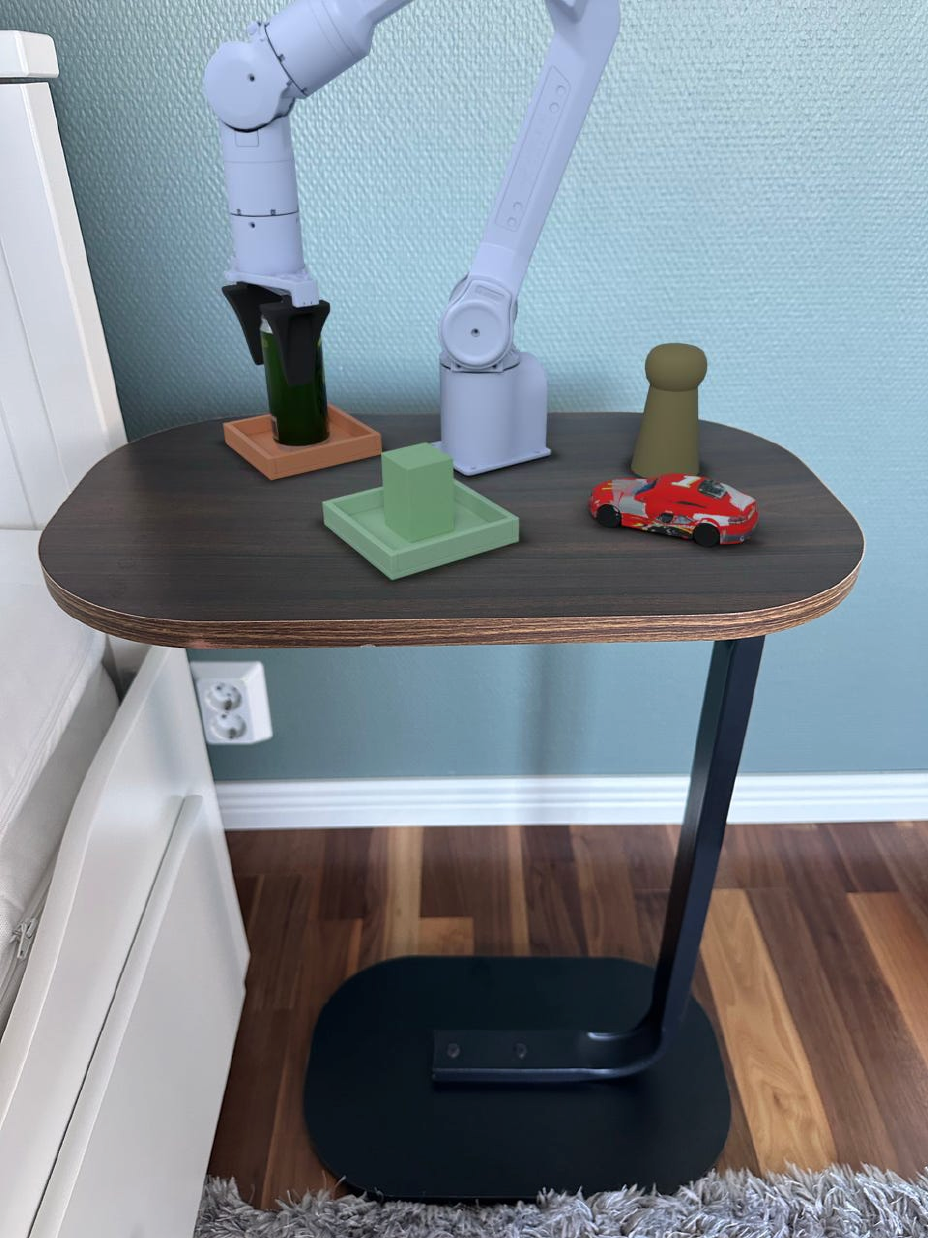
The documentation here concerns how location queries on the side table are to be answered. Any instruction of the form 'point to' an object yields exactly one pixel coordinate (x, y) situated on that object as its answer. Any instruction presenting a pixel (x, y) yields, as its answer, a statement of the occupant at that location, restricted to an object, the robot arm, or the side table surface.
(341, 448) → the terracotta tray
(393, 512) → the sage block
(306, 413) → the beer can
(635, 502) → the race car
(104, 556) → the side table surface
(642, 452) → the olive pawn piece
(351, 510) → the sage tray
